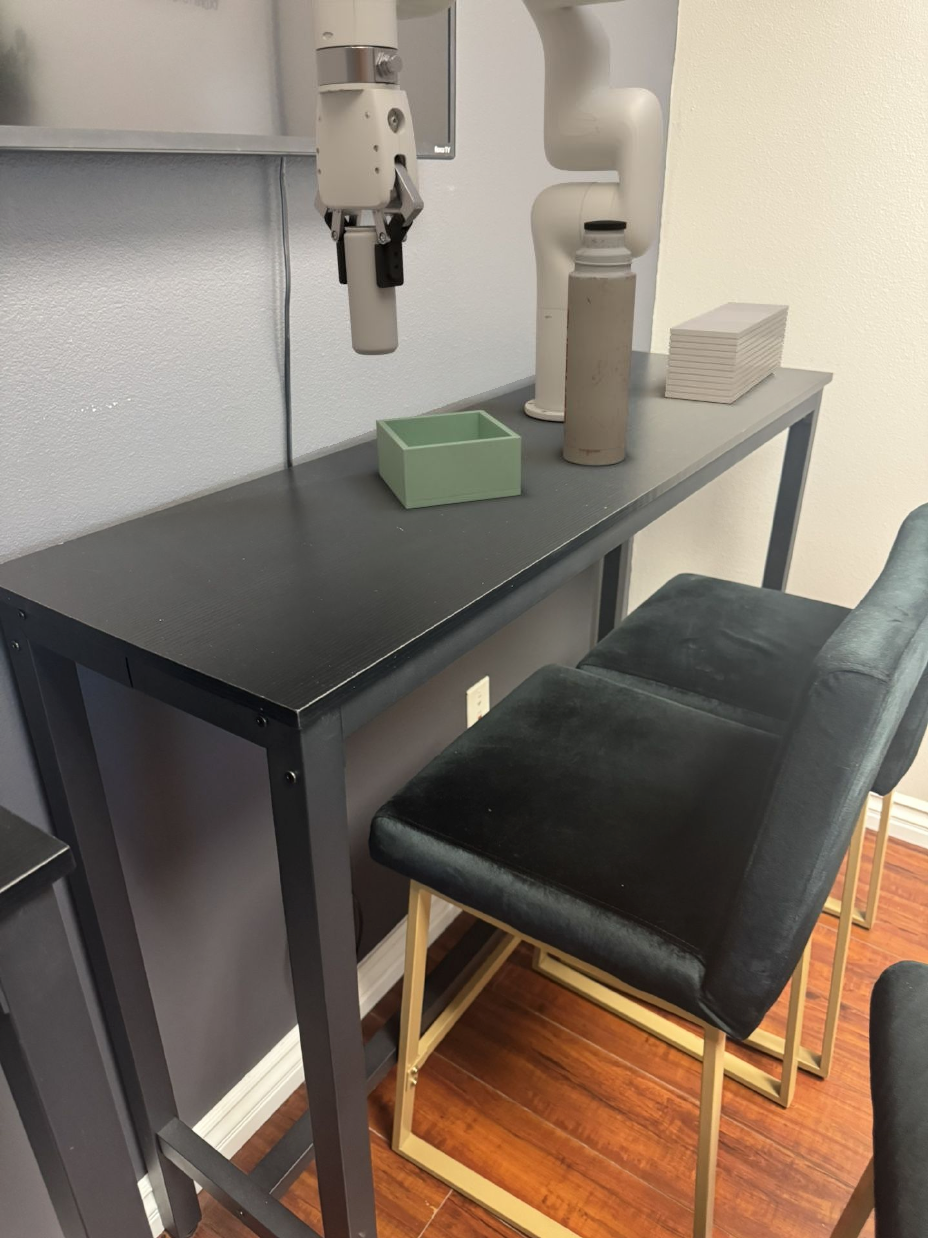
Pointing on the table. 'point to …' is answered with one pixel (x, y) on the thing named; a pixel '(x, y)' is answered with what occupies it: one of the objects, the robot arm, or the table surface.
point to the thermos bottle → (599, 346)
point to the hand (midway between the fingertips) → (371, 282)
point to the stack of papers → (725, 351)
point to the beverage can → (368, 296)
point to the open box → (448, 458)
